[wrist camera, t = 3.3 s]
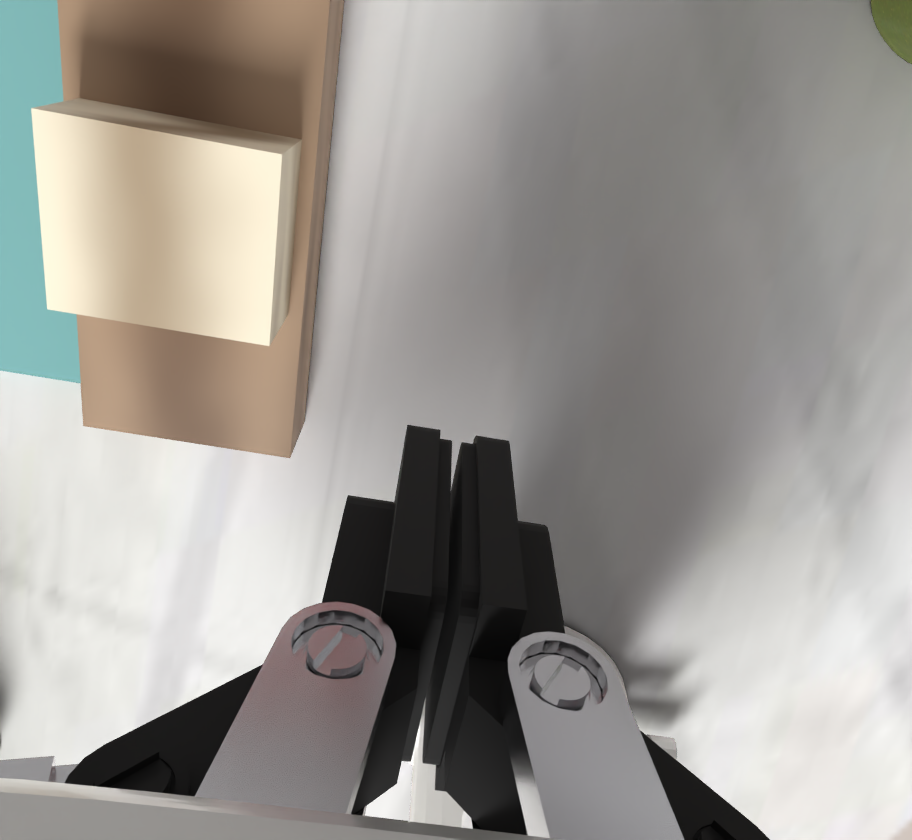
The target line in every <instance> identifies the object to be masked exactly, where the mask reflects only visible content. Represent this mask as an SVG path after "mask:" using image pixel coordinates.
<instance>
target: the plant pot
mask: <svg viewBox="0 0 912 840" xmlns="http://www.w3.org/2000/svg"><path fill="white" fill-rule="evenodd" d="M871 8H872V16H873V19H874V22H875V24H876V27H877V29H878V31H879V33H880V35H881V36H882V37H883V39H884V40H885V42H886V43H887V44H888V45H889V47H890V48H891V49H892V50H893V51H894V52H895V53H896V54H897V55H898V56H900V57H901V58H902V59H904V60H905V61H907V62H908V63H910V64H912V0H871Z"/></svg>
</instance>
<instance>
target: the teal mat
mask: <svg viewBox="0 0 912 840" xmlns="http://www.w3.org/2000/svg"><path fill="white" fill-rule="evenodd" d="M58 102H63V85H62V68H61V52H60V36H59V19H58V3H57V0H0V370H1V371H7V372H13V373H20V374H26V375H32V376H38V377H45V378H51V379H57V380H63V381H70V382H76V383H81V379H80V363H79V346H78V330H77V314H72V313H66V312H60V311H54V310H48V309H47V300H46V288H45V275H44V263H43V250H42V238H41V225H40V213H39V200H38V188H37V175H36V163H35V150H34V138H33V125H32V113H31V108H34V107H39V106H44V105H49V104H53V103H58Z"/></svg>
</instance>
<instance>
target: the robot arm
mask: <svg viewBox="0 0 912 840" xmlns="http://www.w3.org/2000/svg"><path fill="white" fill-rule="evenodd" d="M451 458H452V441H451V440H444V439H440V430H437V429H431V428H424V427H418V426H412V425H407V431H406V436H405V442H404V448H403V454H402V460H401V466H400V472H399V478H398V484H397V490H396V496H395V502H389V501H383V500H376V499H369V498H363V497H356V496H349V495H348V497H347V501H346V505H345V509H344V513H343V517H342V521H341V525H340V530H339V534H338V538H337V542H336V546H335V551H334V555H333V559H332V563H331V567H330V571H329V576H328V580H327V584H326V588H325V592H324V597H323V601H322V603H319V604H316V605H313V606H310V607H307V608H304V609H302V610H301V611H299V612H298V613H296V614H295V615H293V616H292V617H290V619H289V620H288V621H287V622H286V624H285V625H284V626H283V627H282V629H281V631H280V633H279V635H278V637H277V638H276V640H275V642H274V644H273V646H272V648H271V650H270V652H269V654H268V656H267V658H266V660H265V662H264V664H263V665H261V666H259V667H257V668H255V669H253V670H251V671H249V672H247V673H245V674H243V675H241V676H239V677H237V678H235V679H233V680H231V681H229V682H227V683H225V684H223V685H221V686H219V687H217V688H215V689H213V690H212V691H210V692H208V693H206V694H204V695H202V696H200V697H198V698H196V699H194V700H192V701H190V702H188V703H186V704H184V705H182V706H180V707H178V708H176V709H174V710H172V711H170V712H168V713H166V714H164V715H162V716H160V717H158V718H156V719H154V720H152V721H150V722H148V723H146V724H144V725H142V726H140V727H139V728H137V729H135V730H133V731H131V732H129V733H127V734H125V735H123V736H121V737H119V738H117V739H115V740H113V741H111V742H109V743H107V744H105V745H103V746H102V747H100V748H99V749H97V750H96V751H94V752H93V753H91V754H90V755H88V756H87V757H85V758H84V759H83V760H82V761H81V762H80V763H79V764H73V765H61V766H55V758H54V756H49V757H36V758H24V759H11V760H0V840H770V839H769V838H768V837H767V836H766V835H765V834H764V833H763V832H762V831H761V830H760V829H759V828H758V827H757V826H756V825H754V824H753V823H752V822H751V821H750V820H748V819H747V818H746V817H745V816H744V815H742V814H741V813H740V812H739V811H737V810H736V809H735V808H734V807H733V806H731V805H730V804H729V803H728V802H727V801H725V800H724V799H723V798H722V797H720V796H719V795H718V794H717V793H716V792H714V791H713V790H712V789H711V788H710V787H708V786H707V785H706V784H705V783H703V782H702V781H701V780H700V779H699V778H697V777H696V776H695V775H694V774H693V773H691V772H690V771H689V770H688V769H686V768H685V767H684V766H683V765H682V764H680V763H679V762H678V761H677V760H676V759H677V747H676V742H675V740H674V738H670V737H663V736H655V735H648V734H647V736H646V735H645V734H644V733H643V732H642V731H640V730H639V727H638V725H637V722H636V720H635V717H634V715H633V712H632V710H631V708H630V705H629V703H628V698H627V694H626V690H625V686H624V682H623V678H622V676H621V674H620V672H619V670H618V668H617V666H616V665H615V663H614V661H613V660H612V659H611V658H610V657H609V656H608V654H607V653H606V652H605V651H604V650H603V649H602V648H601V647H600V646H598V645H597V644H596V643H594V642H593V641H592V640H590V639H589V638H588V637H586V636H585V635H583V634H581V633H579V632H577V631H575V630H573V629H571V628H569V627H567V626H564V623H563V616H562V610H561V604H560V598H559V592H558V586H557V579H556V573H555V567H554V561H553V555H552V549H551V542H550V536H549V531H548V528H547V527H546V526H545V525H541V524H535V523H528V522H521V521H518V519H517V509H516V500H515V490H514V481H513V471H512V462H511V452H510V444H509V441H506V440H500V439H493V438H487V437H481V436H476V437H475V439H474V442H473V444H470V443H463V442H462V443H461V446H460V450H459V455H458V460H457V465H456V469H455V474H454V479H453V484H452V488H451ZM401 761H407V762H408V763H409V764H410V765H412V766H413V769H412V783H411V797H410V812H409V821H403V820H394V819H386V818H377V817H369V816H365V811H366V806H367V805H368V804H369V803H371V802H372V801H373V800H375V799H376V798H377V797H379V796H380V795H382V794H383V793H384V792H386V791H387V790H388V789H390V788H391V787H393V786H394V785H395V784H397V780H398V775H399V770H400V766H401Z"/></svg>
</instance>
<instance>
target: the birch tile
mask: <svg viewBox="0 0 912 840" xmlns="http://www.w3.org/2000/svg"><path fill="white" fill-rule="evenodd" d="M31 113H32V125H33V138H34V150H35V163H36V175H37V188H38V200H39V213H40V225H41V238H42V250H43V263H44V275H45V288H46V300H47V309H48V310H54V311H60V312H66V313H72V314H79V315H85V316H91V317H97V318H103V319H109V320H115V321H121V322H127V323H133V324H139V325H145V326H151V327H157V328H163V329H169V330H175V331H181V332H187V333H193V334H199V335H205V336H211V337H217V338H223V339H229V340H235V341H241V342H247V343H253V344H259V345H265V346H270V344H271V343H272V341H273V339H274V338H275V336H276V334H277V332H278V331H279V329H280V327H281V326H282V324H283V322H284V321H285V319H286V317H287V316H288V313H289V300H290V288H291V275H292V262H293V249H294V236H295V223H296V210H297V198H298V185H299V172H300V159H301V146H302V140H301V139H296V138H291V137H285V136H280V135H275V134H269V133H264V132H259V131H253V130H248V129H242V128H237V127H232V126H226V125H221V124H216V123H210V122H205V121H200V120H194V119H189V118H183V117H178V116H173V115H167V114H162V113H157V112H151V111H146V110H141V109H135V108H130V107H124V106H119V105H114V104H108V103H103V102H98V101H92V100H87V99H82V98H77V99H73V100H68V101H63V102H58V103H53V104H49V105H44V106H39V107H34V108H31Z"/></svg>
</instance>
